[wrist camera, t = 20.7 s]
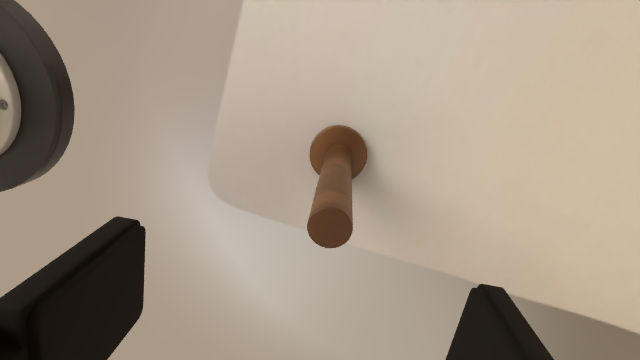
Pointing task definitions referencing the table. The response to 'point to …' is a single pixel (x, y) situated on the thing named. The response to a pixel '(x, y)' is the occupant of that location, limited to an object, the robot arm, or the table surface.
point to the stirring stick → (334, 184)
